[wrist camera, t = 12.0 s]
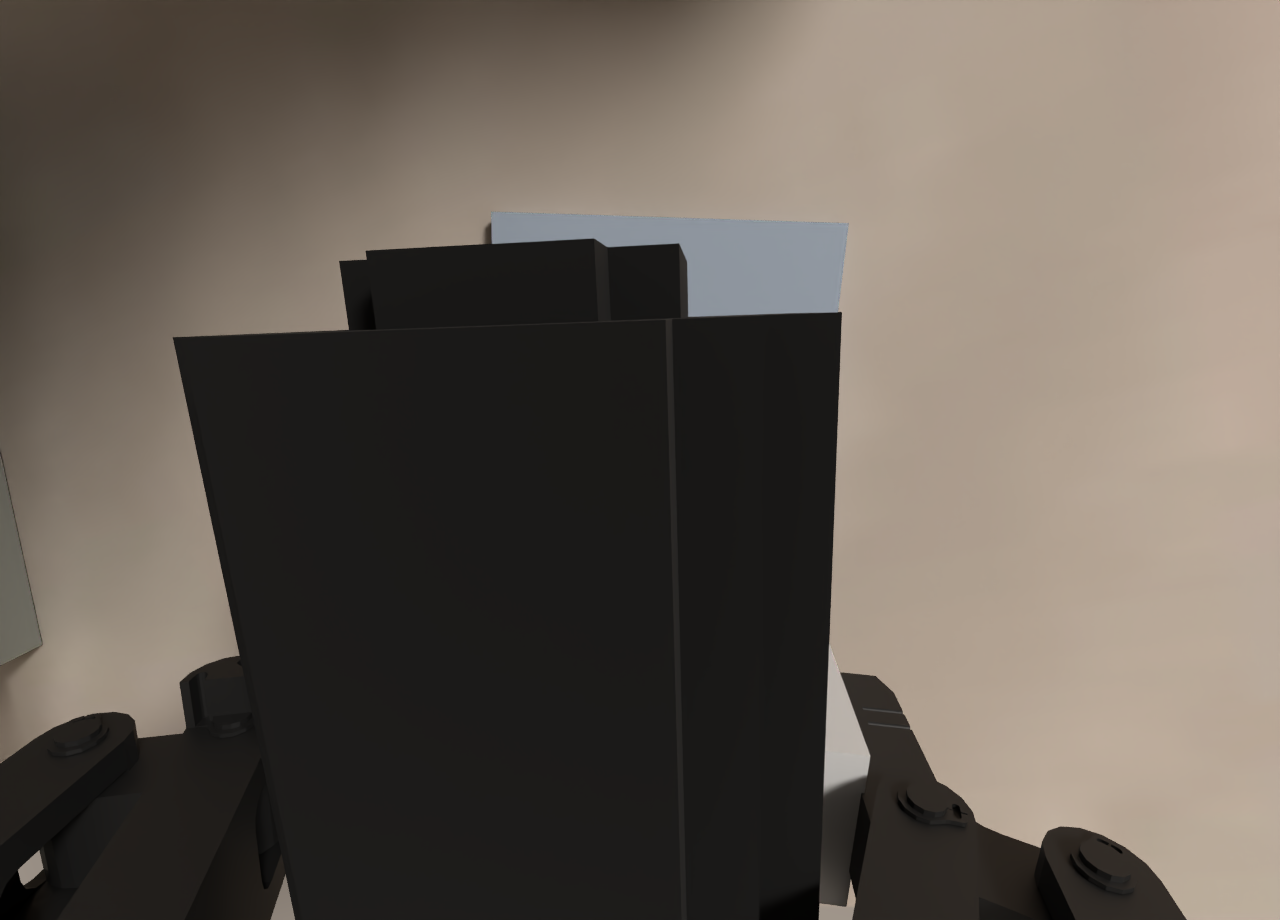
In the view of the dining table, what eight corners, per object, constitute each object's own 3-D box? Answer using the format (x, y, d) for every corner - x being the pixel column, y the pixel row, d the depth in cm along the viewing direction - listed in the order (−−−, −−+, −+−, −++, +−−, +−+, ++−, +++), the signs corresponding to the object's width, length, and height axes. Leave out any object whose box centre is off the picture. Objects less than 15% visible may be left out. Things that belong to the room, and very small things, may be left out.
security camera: (530, 911, 19) (338, 1548, 9) (469, 291, 14) (-15, 245, 5) (758, 929, 18) (814, 1651, 8) (764, 278, 14) (894, 191, 4)
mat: (497, 214, 20) (491, 211, 19) (844, 226, 19) (848, 223, 18) (503, 740, 25) (498, 750, 24) (778, 773, 24) (780, 785, 23)
